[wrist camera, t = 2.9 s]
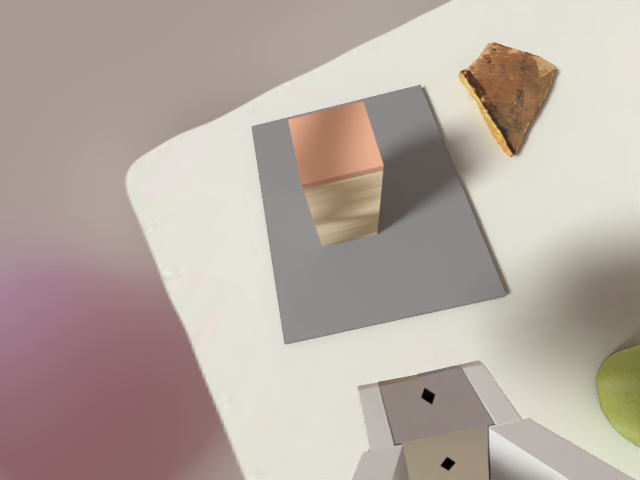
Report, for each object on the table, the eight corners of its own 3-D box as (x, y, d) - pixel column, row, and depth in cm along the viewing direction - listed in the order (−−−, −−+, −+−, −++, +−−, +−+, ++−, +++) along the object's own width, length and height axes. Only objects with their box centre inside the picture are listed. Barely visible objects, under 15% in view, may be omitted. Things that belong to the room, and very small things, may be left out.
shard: (507, 165, 29) (516, 153, 28) (425, 132, 32) (428, 119, 30) (554, 77, 32) (564, 61, 30) (475, 53, 34) (480, 36, 32)
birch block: (363, 187, 29) (363, 101, 20) (377, 234, 27) (383, 165, 18) (312, 199, 29) (288, 119, 20) (322, 247, 28) (301, 185, 18)
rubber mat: (419, 89, 33) (420, 84, 32) (503, 296, 25) (506, 295, 24) (253, 130, 33) (251, 126, 33) (286, 344, 26) (284, 343, 25)
